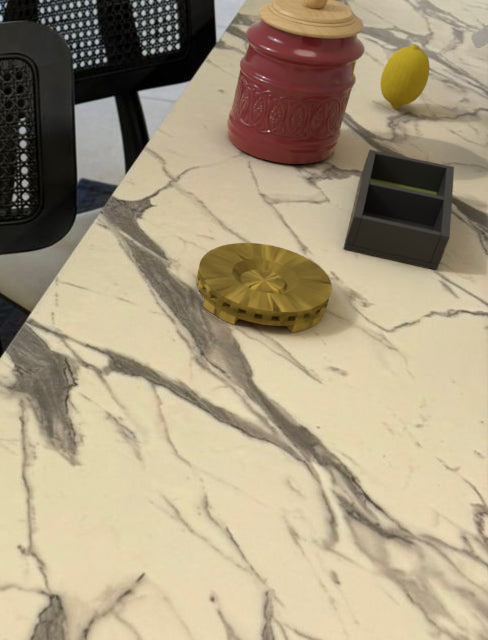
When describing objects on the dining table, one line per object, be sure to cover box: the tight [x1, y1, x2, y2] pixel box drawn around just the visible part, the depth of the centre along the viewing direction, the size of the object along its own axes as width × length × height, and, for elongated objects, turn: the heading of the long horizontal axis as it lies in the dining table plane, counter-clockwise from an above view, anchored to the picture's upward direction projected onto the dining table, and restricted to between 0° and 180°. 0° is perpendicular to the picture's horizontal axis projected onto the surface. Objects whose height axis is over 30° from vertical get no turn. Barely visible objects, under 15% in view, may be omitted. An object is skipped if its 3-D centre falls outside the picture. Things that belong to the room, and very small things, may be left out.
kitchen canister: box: [226, 0, 366, 165], centre depth 115 cm, size 13×13×18 cm
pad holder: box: [343, 149, 455, 271], centre depth 106 cm, size 9×17×4 cm, turn 160°
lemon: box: [380, 43, 430, 110], centre depth 129 cm, size 6×6×8 cm
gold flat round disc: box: [195, 242, 333, 333], centre depth 93 cm, size 12×12×2 cm
